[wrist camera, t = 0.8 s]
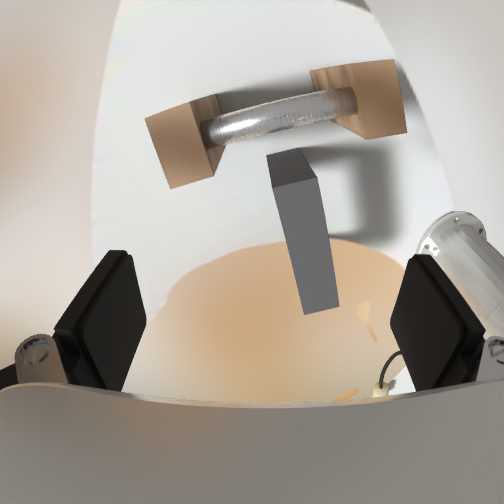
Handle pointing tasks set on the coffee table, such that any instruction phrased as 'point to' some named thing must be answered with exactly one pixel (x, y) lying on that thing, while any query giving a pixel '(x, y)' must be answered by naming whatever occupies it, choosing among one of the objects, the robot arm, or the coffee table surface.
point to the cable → (381, 386)
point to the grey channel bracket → (304, 229)
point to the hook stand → (278, 118)
